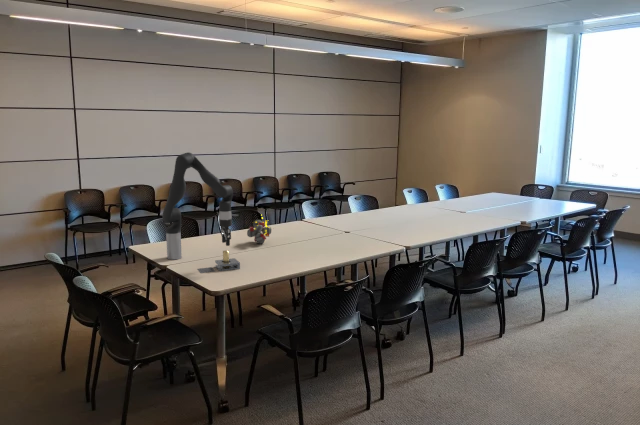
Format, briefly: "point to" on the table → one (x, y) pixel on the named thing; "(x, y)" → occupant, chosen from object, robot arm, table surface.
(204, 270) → the rubber mat
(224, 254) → the brass pin
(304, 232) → the table surface
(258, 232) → the molecule model
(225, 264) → the grey flat block
